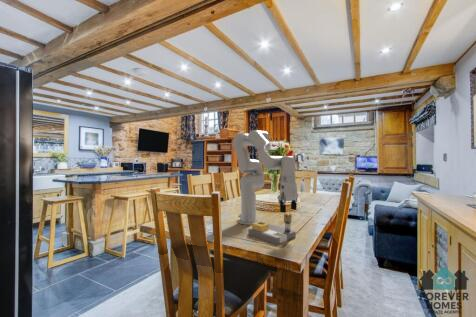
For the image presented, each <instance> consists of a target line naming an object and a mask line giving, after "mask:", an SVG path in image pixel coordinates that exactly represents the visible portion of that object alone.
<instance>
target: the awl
mask: <svg viewBox="0 0 476 317" xmlns="http://www.w3.org/2000/svg"><path fill="white" fill-rule="evenodd" d="M292 218H293V217H292V214H291V213H284V214H283V223H284V228H285V232H291V230H292V229H291V227H292V226H291V224H292V222H293V221H292Z"/></svg>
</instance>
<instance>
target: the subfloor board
mask: <svg viewBox="0 0 476 317" xmlns="http://www.w3.org/2000/svg"><path fill="white" fill-rule="evenodd" d="M268 224H269V230H266V231H263V232H260V231H257V230H254V229H252V227H250V228H248V232H247V233H248V235H249V236H252V237H255V238H258V239H261V240H263V241H266V242H269V243H272V244H275V245H279V244H282V243H285V242H287V241H289V240H292V239H294V238H296V235H297V234H296V232H297V231H295V230H292V229H291V232H285V227H282V226H277V225H274V224H271V223H268Z"/></svg>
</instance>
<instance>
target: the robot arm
mask: <svg viewBox="0 0 476 317" xmlns="http://www.w3.org/2000/svg"><path fill="white" fill-rule="evenodd" d="M270 139H271V136H270V134H269V133H268V132H267V131H265V130H257V129H256V130H255V129H254V130H252V131H249V133H247V132H239V133H236V134H235V135H234V136H233V139H232V145H233V149H234V153H235V155H236V159H237V163H238V164H237V165H238V168H239V171H240V173H242V174H245V175H242V176H241V178H240V179H239V185H240V192H241V194H240V195H241V198H240V199H241V202H240V203H241V204H240V206H241V209H240V210H241V212H240V214H239V215H238V216H237V217H238V218H240V219H239V220H238V223H239V224H241V225H246V226H252V223H256V222H259V220H258V219H257V216H256V215H257V213H256V212H257V209H256V208H257V202H256V201H257V197H256V192H255V191H254V190H255V189H262V188H263V187H264V186H265V183H266V181H265V175H264V170H263V167H264V168H265V169H267V170H271V171H272V170H273V171H275V170H280V175H281V176H280V187H279V195H278V196H277V200H278V205H279V211H280V213H284V214H287V213H286V212H287V206H286V205H287V204H286V203H287V202H290V209H291V210H293V211H297V202H298V197H299V193H298V186H297V181H296V158H295V156H294V155H293V156H289V155H285V156H279V155H276V156H275V155H270V154H269V153H268V151H269V150H270V149H271V143H270ZM245 146H248V147H255V149H256V151H257V155H258V156H257V157H258V159H254V158H253V159H252V158H251V157H250V154H249V151H248V149H247V148H246V147H245ZM262 166H263V167H262Z"/></svg>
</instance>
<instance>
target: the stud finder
mask: <svg viewBox="0 0 476 317" xmlns="http://www.w3.org/2000/svg"><path fill="white" fill-rule="evenodd" d="M269 224H270V223H266V222H262V221H258V222H256V223H252V225H251V228H252V229H254V230H257V231H260V232H263V231H266V230H269Z"/></svg>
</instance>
